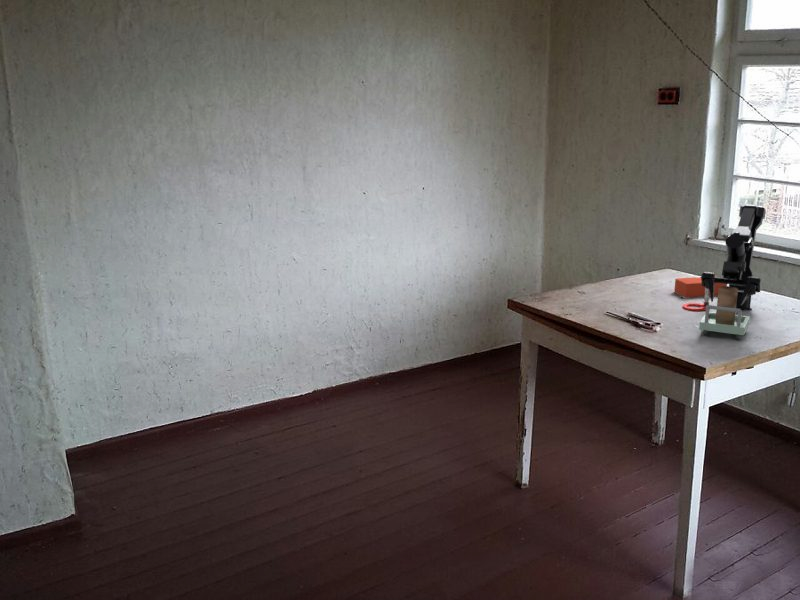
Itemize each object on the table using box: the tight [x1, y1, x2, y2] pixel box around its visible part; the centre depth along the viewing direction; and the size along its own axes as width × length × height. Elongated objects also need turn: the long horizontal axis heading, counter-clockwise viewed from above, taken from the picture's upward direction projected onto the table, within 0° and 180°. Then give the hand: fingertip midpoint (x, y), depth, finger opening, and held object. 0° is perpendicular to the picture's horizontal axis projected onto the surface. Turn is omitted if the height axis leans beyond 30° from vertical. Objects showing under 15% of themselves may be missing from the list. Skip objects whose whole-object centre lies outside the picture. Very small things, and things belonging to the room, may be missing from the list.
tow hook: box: [682, 288, 711, 312], centre depth 288 cm, size 8×13×9 cm
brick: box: [673, 275, 728, 299], centre depth 308 cm, size 18×9×6 cm, turn 100°
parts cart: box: [698, 304, 751, 341], centre depth 259 cm, size 14×14×11 cm
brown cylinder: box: [715, 285, 738, 325], centre depth 258 cm, size 6×6×12 cm
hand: (726, 303), depth 256 cm, fingers open, 9 cm apart
